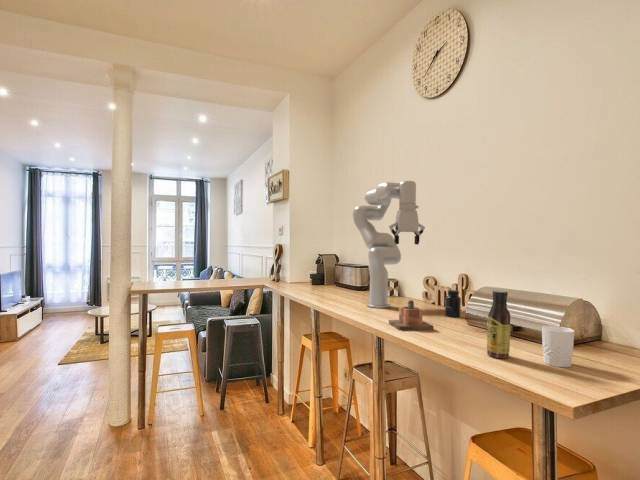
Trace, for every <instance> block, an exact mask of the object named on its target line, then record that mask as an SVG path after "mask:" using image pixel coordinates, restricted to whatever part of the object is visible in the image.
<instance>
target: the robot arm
mask: <svg viewBox="0 0 640 480" xmlns="http://www.w3.org/2000/svg"><path fill="white" fill-rule="evenodd" d="M392 199H398V200H399V201H398V202H399V203H398V208H399V209H397V211H396V216H395V223H392V224H391V225H389V226H388V227H389V230H390V232H391V234H390V233H389V232H378V231H377V230H376V228H375V226H374V225H373V223H372V222H370V221H377V222H378V221H381V220H382V219H383V218H384V217H385V214H386V212H387V211H388V210H389V207H390V204H391V202H392ZM364 200H365V202H366V203H367V204H369V205H363V204H362V205H358V206H357V205H356V207H355V208H353V212H352V218H353V219H352V220H353V223H354V225H355V226H356V228H357V230H358V231H359V233H360V235H361V237H362V240H363V242H364V244H365V246H366V247H367V249H369V250H368V254H367V255H368V263H369V302H366V307H369V308H376V309H387V308H391V303H389V302H388V301H389V300H388V297H389V295H388V293H389V290H388V289H389V287H388V286H389V272H388V270H387V268H386V266H385V265H390V266H391V265H392V266H393V265H397V264H399V263H400V262H401V261H402V260H401V259H402V254H401V253H402V252H401V251H400V248H399V246H398V245H400V236H399V235H400V233H401V232H404V233H412V232H413V233H414V245H419V243H420V237H421V235H422V234H423V233H424V231H425V228H426V227H425V226H424V225H422V224H420V223H419V214H418V210H417V209H419V205H417V202H416V201H417V184H416V182H415V180H414V181H413V180H403V181H401V182H391V181H390V182H387V181H386V182H383V183H379V184H378V185H377V187H376V188H374V189H370V190H368V191H367V192H366V193H365V195H364Z"/></svg>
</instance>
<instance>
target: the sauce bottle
mask: <svg viewBox="0 0 640 480" xmlns="http://www.w3.org/2000/svg"><path fill="white" fill-rule="evenodd" d="M507 298H508V291H505V290H500V289H495V290H492V305H491V308H490V310H489V313H488V315H487V327H486V328H487V329H486V331H487V332H486V353H487V355H488V356H489V357H492V358H494V359H508V358H509V357H510V355H509V354H510V347H511V346H510V345H511V342H510V341H511V312H510V311H509V310H508V307H507V306H508V304H507V303H508V302H507Z"/></svg>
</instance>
